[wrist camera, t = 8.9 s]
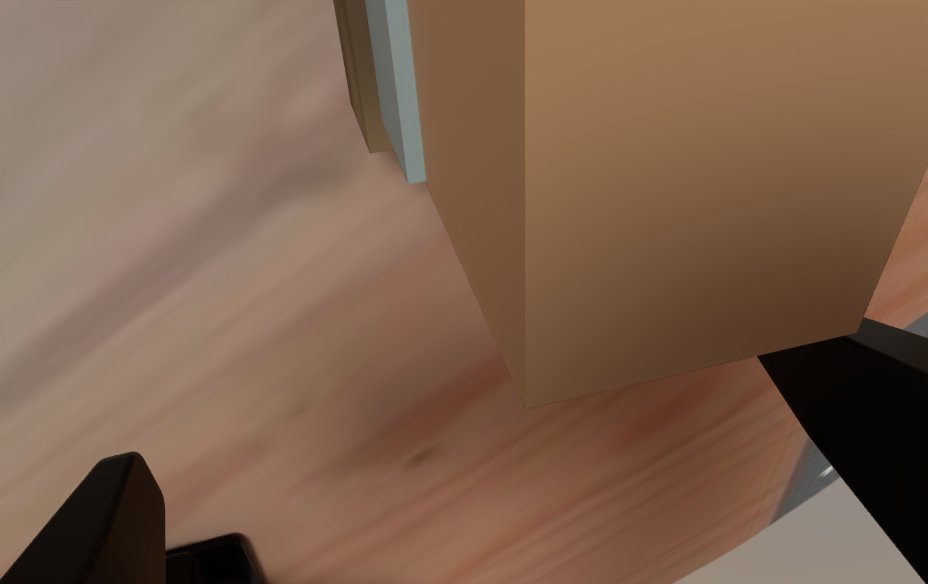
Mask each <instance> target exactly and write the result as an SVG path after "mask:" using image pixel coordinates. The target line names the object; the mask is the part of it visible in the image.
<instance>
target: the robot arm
mask: <svg viewBox="0 0 928 584" xmlns="http://www.w3.org/2000/svg"><path fill="white" fill-rule="evenodd" d="M757 357H758V359H759V361H760V362H761V364H762V365H763V367H764V368H765V370H766V371H767V373H768V374H769V376H770V377H771V379H772V381H773V382H774V384H775V385H776V387H777V388H778V390H779V391H780V393H781V394H782V396H783V398H784V399H785V401H786V402H787V404H788V405H789V407H790V408H791V410H792V411H793V413H794V415H795V416H796V418H797V419H798V421H799V422H800V424H801V425H802V427H803V428H804V430H805V431H806V433H807V434H808V436H809V437H810V438H811V440H812V441H813V442H814V444H815V445H816V446H817V448H818V449H819V450H820V451H821V453H822V454H823V455H824V456H825V458H826V459H827V460H828V462H829V463H830V464H831V465H832V467H833V468H834V469H835V470H836V472H837V473H838V474H839V475H840V477H841V478H842V479H843V480H844V482H845V483H846V484H847V485H848V487H849V488H850V489H851V490H852V492H853V493H854V494H855V496H856V497H857V498H858V499H859V500H860V502H861V503H862V504H863V506H864V507H865V508H866V509H867V511H868V512H869V513H870V514H871V516H872V517H873V518H874V519H875V521H876V522H877V523H878V524H879V526H880V527H881V528H882V529H883V531H884V532H885V533H886V535H887V536H888V537H889V538H890V540H891V541H892V542H893V543H894V544H895V546H896V547H897V548H898V550H899V551H900V552H901V553H902V555H903V556H904V557H905V558H906V560H907V561H908V562H909V563H910V565H911V566H912V567H913V569H914V570H915V571H916V572H917V574H918V575H919V576H920V577H921V579H922V580H923V581H924V582H925V584H928V338H926V337H923V336H920V335H917V334H914V333H911V332H908V331H905V330H901V329H898V328H895V327H892V326H889V325H886V324H883V323H880V322H877V321H874V320H871V319H868V318H865V317H863V319H862V321H861V324H860V326H859V328H858V331H857V333H853V334H849V335H845V336H840V337H836V338H832V339H827V340H823V341H819V342H815V343H810V344H806V345H802V346H797V347H793V348H789V349H784V350H780V351H776V352H771V353H767V354H763V355H759V356H757ZM0 584H263V581H262V579H261V577H260V575H259V573H258V571H257V569H256V567H255V565H254V562H253V560H252V558H251V556H250V554H249V552H248V550H247V548H246V546H245V544H244V541H243V540H242V538H241V537H238V536H227V537H224V538H220V539H216V540H212V541H209V542H205V543H201V544H197V545H193V546H190V547H186V548H182V549H178V550H175V551H171V552H167V553H165V503H164V498H163V495H162V492H161V490H160V488H159V486H158V484H157V482H156V480H155V478H154V477H153V475H152V473H151V471H150V469H149V467H148V466H147V464H146V462H145V460H144V458H143V457H142V456H141V455H140V454H139V453H138V452H127V453H123V454H119V455H115V456H111V457H107V458H104V459H102V460H101V461H99V462H98V463H97V464H96V465H95V466H94V468H93V469H92V470H91V471H90V472H89V474H88V475H87V476H86V477H85V478H84V480H83V481H82V482H81V483H80V484H79V486H78V487H77V488H76V489H75V490H74V492H73V493H72V494H71V495H70V496H69V498H68V499H67V500H66V501H65V502H64V504H63V505H62V506H61V507H60V508H59V510H58V511H57V512H56V513H55V514H54V515H53V517H52V518H51V519H50V520H49V521H48V523H47V524H46V525H45V526H44V527H43V529H42V530H41V531H40V532H39V533H38V535H37V536H36V537H35V538H34V539H33V541H32V542H31V543H30V544H29V545H28V547H27V548H26V549H25V550H24V551H23V553H22V554H21V555H20V556H19V557H18V559H17V560H16V561H15V562H14V563H13V565H12V566H11V567H10V568H9V569H8V571H7V572H6V573H5V574H4V575H3V577H2V578H1V579H0Z"/></svg>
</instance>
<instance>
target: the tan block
mask: <svg viewBox="0 0 928 584" xmlns="http://www.w3.org/2000/svg"><path fill="white" fill-rule="evenodd" d="M407 10H408V19H409V28H410V37H411V46H412V56H413V65H414V74H415V83H416V92H417V102H418V111H419V120H420V129H421V138H422V147H423V157H424V166H425V175H426V184H427V188H428V190H429V192H430V195H431V197H432V199H433V201H434V204H435V206H436V208H437V210H438V213H439V215H440V217H441V219H442V222H443V224H444V226H445V228H446V231H447V233H448V235H449V237H450V240H451V242H452V244H453V247H454V249H455V251H456V253H457V256H458V258H459V260H460V262H461V265H462V267H463V269H464V271H465V274H466V276H467V278H468V280H469V283H470V285H471V287H472V289H473V292H474V294H475V296H476V298H477V301H478V303H479V305H480V308H481V310H482V312H483V314H484V317H485V319H486V321H487V323H488V326H489V328H490V330H491V332H492V335H493V337H494V339H495V341H496V344H497V346H498V348H499V350H500V353H501V355H502V357H503V360H504V362H505V364H506V366H507V369H508V371H509V373H510V375H511V378H512V380H513V382H514V384H515V387H516V389H517V391H518V393H519V396H520V398H521V400H522V402H523V405H524V407H525V409H530V408H534V407H539V406H543V405H547V404H552V403H556V402H560V401H565V400H569V399H573V398H578V397H582V396H586V395H590V394H595V393H599V392H603V391H608V390H612V389H616V388H621V387H625V386H629V385H634V384H638V383H642V382H646V381H651V380H655V379H659V378H664V377H668V376H672V375H677V374H681V373H685V372H690V371H694V370H698V369H703V368H707V367H711V366H715V365H720V364H724V363H728V362H733V361H737V360H741V359H746V358H750V357H754V356H759V355H763V354H767V353H771V352H776V351H780V350H784V349H789V348H793V347H797V346H802V345H806V344H810V343H815V342H819V341H823V340H827V339H832V338H836V337H840V336H845V335H849V334H853V333H857V331H858V328H859V326H860V324H861V321H862V319H863V317H864V314H865V312H866V310H867V307H868V305H869V303H870V300H871V298H872V296H873V293H874V291H875V289H876V286H877V284H878V282H879V279H880V277H881V275H882V272H883V270H884V267H885V265H886V263H887V260H888V258H889V256H890V253H891V251H892V249H893V246H894V244H895V242H896V239H897V237H898V235H899V232H900V230H901V228H902V225H903V223H904V221H905V218H906V216H907V214H908V211H909V209H910V207H911V204H912V202H913V200H914V197H915V195H916V192H917V190H918V188H919V185H920V183H921V181H922V178H923V176H924V174H925V171H926V169H927V167H928V0H407Z"/></svg>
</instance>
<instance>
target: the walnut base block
mask: <svg viewBox="0 0 928 584" xmlns="http://www.w3.org/2000/svg"><path fill="white" fill-rule="evenodd" d="M333 2H334V8H335V14H336V19H337V25H338V31H339V37H340V43H341V48H342V54H343V60H344V66H345V72H346V78H347V83H348V89H349V95H350V101H351V105H352V108H353V111H354V113H355V116H356V118H357V121H358V124H359V126H360V129H361V131H362V134H363V137H364V139H365V142H366V145H367V147H368V150H369V152H370V153H376V152H382V151H388V150H394V148H393V146H392V143H391V141H390V138H389V136H388V133H387V131H386V129H385V126H384V124H383V121H382V114H381V108H380V101H379V94H378V87H377V80H376V73H375V66H374V59H373V52H372V45H371V38H370V32H369V25H368V18H367V11H366V4H365V0H333Z"/></svg>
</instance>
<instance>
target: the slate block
mask: <svg viewBox="0 0 928 584" xmlns="http://www.w3.org/2000/svg"><path fill="white" fill-rule="evenodd" d="M365 4H366V11H367V18H368V25H369V32H370V38H371V45H372V52H373V59H374V66H375V73H376V80H377V87H378V94H379V101H380V108H381V114H382V121H383V124H384V126H385V129H386V131H387V133H388V136H389V138H390V141H391V143H392V146H393V148H394V151H395V153H396V156H397V158H398V160H399V163H400V165H401V168H402V170H403V173H404V175H405V178H406V180H407V182H408V184H413V183H419V182H425V181H426V175H425V166H424V157H423V147H422V138H421V129H420V120H419V111H418V102H417V92H416V83H415V74H414V65H413V56H412V46H411V37H410V28H409V19H408V10H407V0H365Z"/></svg>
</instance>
